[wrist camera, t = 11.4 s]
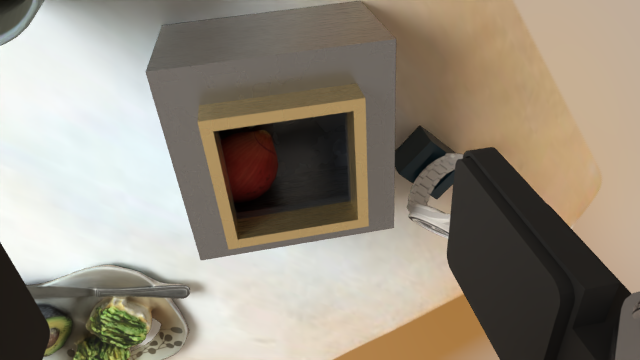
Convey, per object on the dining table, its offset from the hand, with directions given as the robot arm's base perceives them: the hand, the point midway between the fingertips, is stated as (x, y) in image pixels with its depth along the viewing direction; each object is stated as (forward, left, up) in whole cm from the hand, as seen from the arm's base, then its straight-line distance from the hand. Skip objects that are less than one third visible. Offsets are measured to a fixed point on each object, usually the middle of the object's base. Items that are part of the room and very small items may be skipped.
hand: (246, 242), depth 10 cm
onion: (+13, +1, -29) cm, 32 cm away
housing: (+12, +2, -32) cm, 35 cm away
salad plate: (+35, -21, -33) cm, 52 cm away
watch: (+20, +16, -32) cm, 41 cm away
